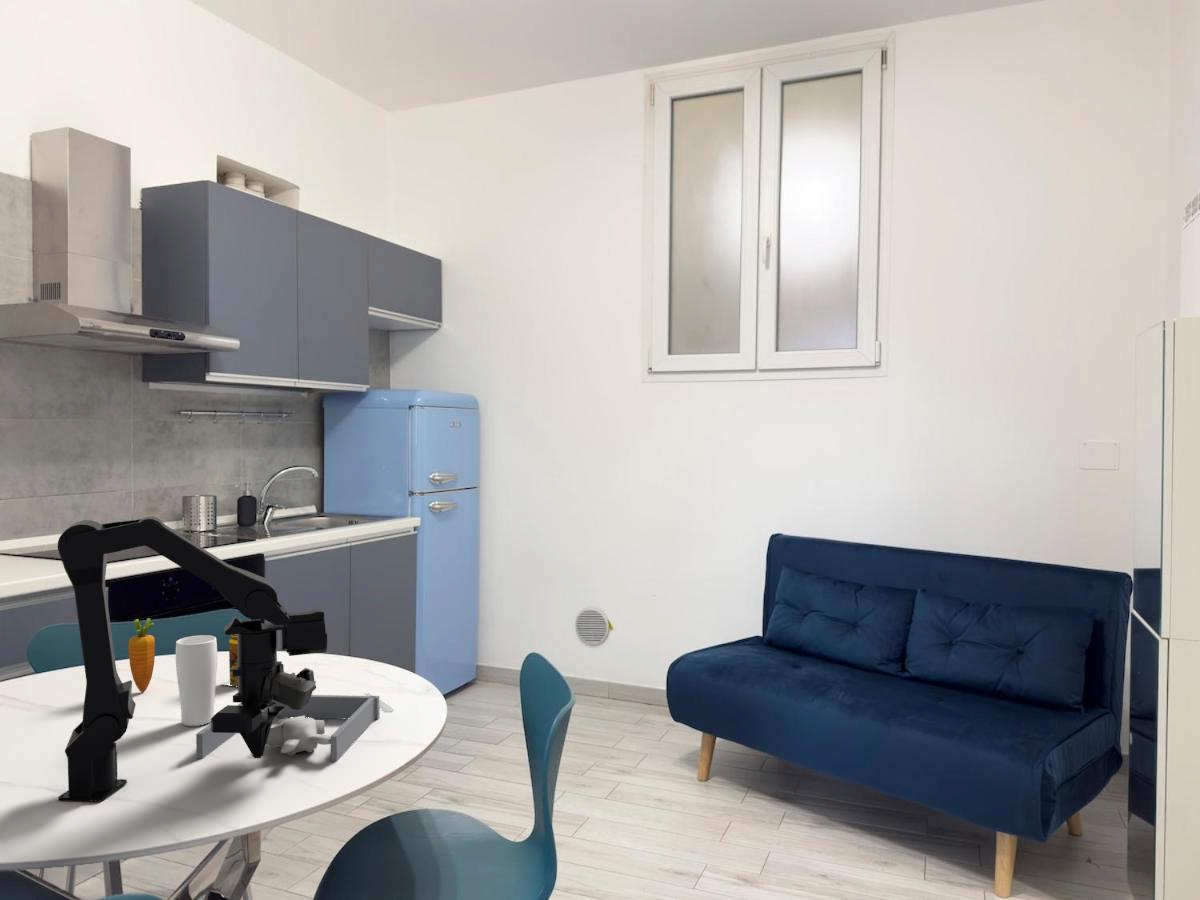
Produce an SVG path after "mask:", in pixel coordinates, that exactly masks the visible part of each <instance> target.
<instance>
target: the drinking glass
mask: <svg viewBox="0 0 1200 900" xmlns="http://www.w3.org/2000/svg"><path fill="white" fill-rule="evenodd" d="M217 642H218V641H217V637H216V636H214V635H209V634H208V635H207V634H205V635H204V634H202V635H200V634H199V635H191V636H185V637H182V638H179V639H178V640H176V641H175V669H176V678H177V684H178V687H177V688H178V694H179V704H180V705H179V706H180V711H181V712H180V716H181V717H180V718H181V724H183V726H186V727H200V725H201V726H204V724H205V725H207V723H208V724H209V723H210V724H211V718H212V717H213V716H214V715H215V698H216V686H217V685H216V684H217V683H216V682H217V672H218V671H217V670H218V644H217Z"/></svg>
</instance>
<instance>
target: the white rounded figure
mask: <svg viewBox="0 0 1200 900" xmlns="http://www.w3.org/2000/svg"><path fill="white" fill-rule="evenodd" d="M325 733H326V732H325V719H323V720H322V719H321V720H320V719H314V718H305V716H299V717H293V718H281V719H278V724H277V725H276V726H273V727H271V728H270V732H269V735H268V739H267V743H266V745H270V746H278V747H279V746H280V747H281V749H280V753H281V754H285V755H289V756H290V755H293V756H295V755H296V753H301V752H304V751H305V753H311V751H312V752H313V751H314V750H315V749H317V747H318V744H319V745H322V746H323V745H324V746H325V745H327V746H328V745H331V742H330V736H331V735H330V734H329V735H328V734H325ZM294 754H295V755H294Z"/></svg>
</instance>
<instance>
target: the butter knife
mask: <svg viewBox="0 0 1200 900" xmlns="http://www.w3.org/2000/svg"><path fill="white" fill-rule="evenodd" d="M364 694H365V695H366V696H374V695H373V694H371V692H366V693H364ZM365 695H364V696H365ZM379 707H380V708H381V709H382V710H383V711H385V712H384V713H386V712H390V713H393V712H394V708H393V707H392V706H391V705H390V704H388V703H386V702H385V701H382V700H381V699H379ZM382 710H381V711H382ZM383 711H382V712H383ZM392 711H393V712H392Z"/></svg>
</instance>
